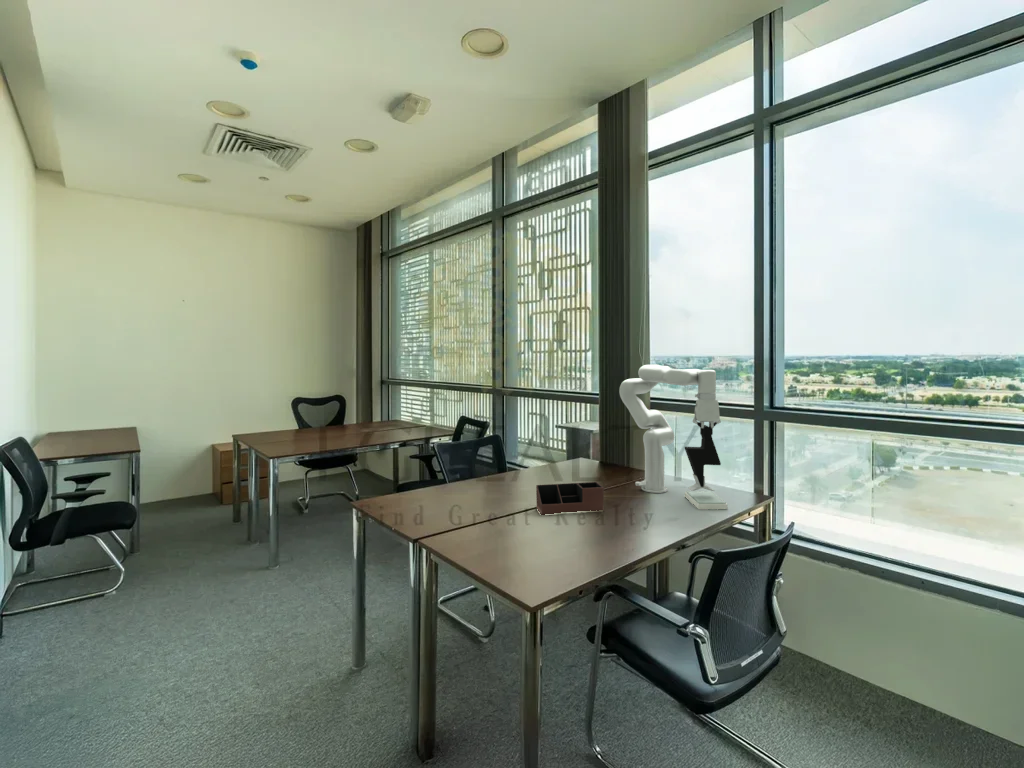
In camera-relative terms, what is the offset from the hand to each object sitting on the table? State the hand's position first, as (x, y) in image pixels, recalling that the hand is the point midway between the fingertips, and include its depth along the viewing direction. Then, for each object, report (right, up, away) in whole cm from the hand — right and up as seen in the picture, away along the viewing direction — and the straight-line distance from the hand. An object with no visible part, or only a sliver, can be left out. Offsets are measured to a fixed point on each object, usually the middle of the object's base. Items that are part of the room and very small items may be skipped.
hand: (706, 436), depth 224 cm
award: (-1, -25, +2) cm, 25 cm away
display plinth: (0, -31, +2) cm, 31 cm away
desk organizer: (-64, -33, -6) cm, 72 cm away
